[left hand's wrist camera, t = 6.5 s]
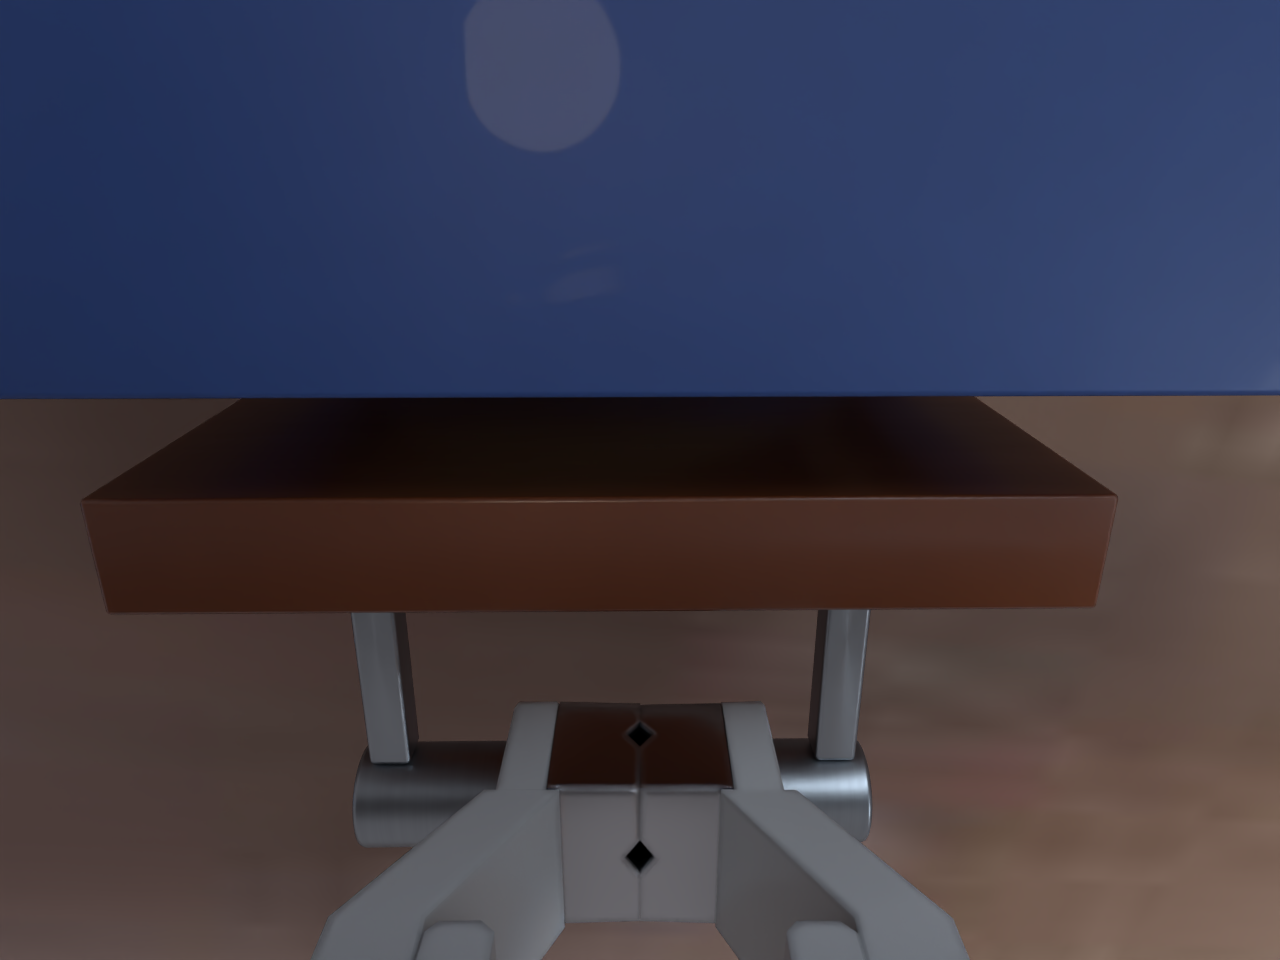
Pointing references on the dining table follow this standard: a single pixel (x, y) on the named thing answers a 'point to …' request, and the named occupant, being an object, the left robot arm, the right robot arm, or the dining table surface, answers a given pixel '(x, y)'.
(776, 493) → the drawer
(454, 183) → the navy blue box
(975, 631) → the dining table surface
